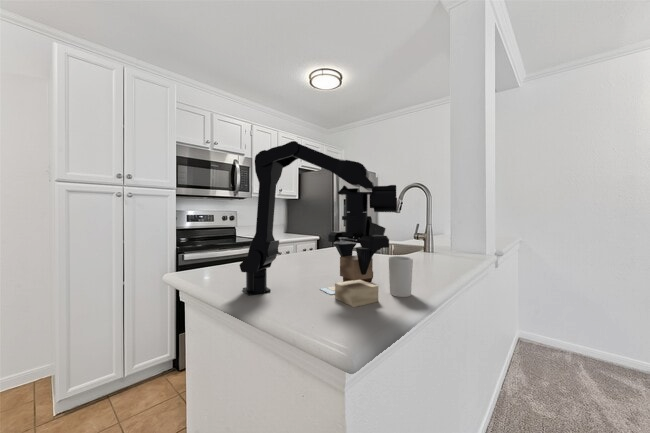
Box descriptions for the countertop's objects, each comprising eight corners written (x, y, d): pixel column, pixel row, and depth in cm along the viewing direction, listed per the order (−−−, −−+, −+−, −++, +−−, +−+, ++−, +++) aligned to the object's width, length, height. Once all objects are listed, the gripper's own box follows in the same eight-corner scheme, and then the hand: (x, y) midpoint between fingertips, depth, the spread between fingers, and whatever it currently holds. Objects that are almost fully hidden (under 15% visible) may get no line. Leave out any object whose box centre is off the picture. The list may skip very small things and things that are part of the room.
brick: (352, 288, 81) (352, 272, 81) (342, 285, 84) (342, 270, 84) (373, 282, 89) (373, 268, 89) (363, 280, 92) (364, 266, 92)
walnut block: (339, 275, 72) (340, 256, 72) (357, 273, 75) (358, 255, 75) (353, 280, 67) (353, 260, 67) (372, 277, 70) (372, 258, 70)
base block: (335, 298, 72) (335, 283, 72) (358, 293, 76) (358, 279, 76) (353, 307, 65) (353, 290, 65) (378, 301, 70) (378, 285, 69)
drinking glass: (397, 298, 72) (397, 260, 72) (383, 291, 78) (383, 256, 78) (418, 295, 74) (418, 259, 74) (403, 289, 81) (403, 255, 81)
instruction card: (319, 289, 80) (319, 288, 80) (344, 285, 85) (344, 284, 85) (330, 294, 75) (330, 293, 75) (356, 290, 80) (356, 289, 80)
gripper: (405, 212, 67) (405, 275, 67) (358, 212, 83) (358, 263, 83) (370, 212, 61) (370, 281, 61) (327, 212, 77) (327, 267, 77)
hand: (356, 272), depth 71 cm, fingers closed on walnut block, 6 cm apart
